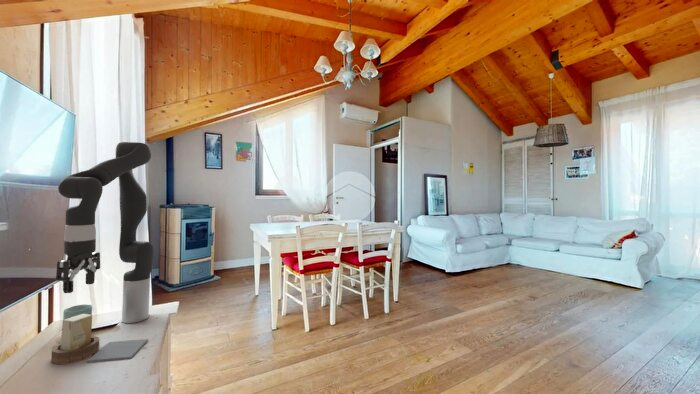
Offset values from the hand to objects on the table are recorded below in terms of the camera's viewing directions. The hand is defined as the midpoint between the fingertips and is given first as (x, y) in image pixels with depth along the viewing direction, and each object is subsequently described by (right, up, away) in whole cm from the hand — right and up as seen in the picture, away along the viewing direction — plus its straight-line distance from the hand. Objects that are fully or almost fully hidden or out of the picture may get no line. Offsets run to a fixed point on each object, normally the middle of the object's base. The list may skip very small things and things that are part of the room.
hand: (79, 288), depth 94 cm
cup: (-15, -22, +15) cm, 31 cm away
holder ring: (-2, -22, +1) cm, 22 cm away
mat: (+10, -23, +4) cm, 25 cm away
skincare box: (-2, -23, +1) cm, 23 cm away
